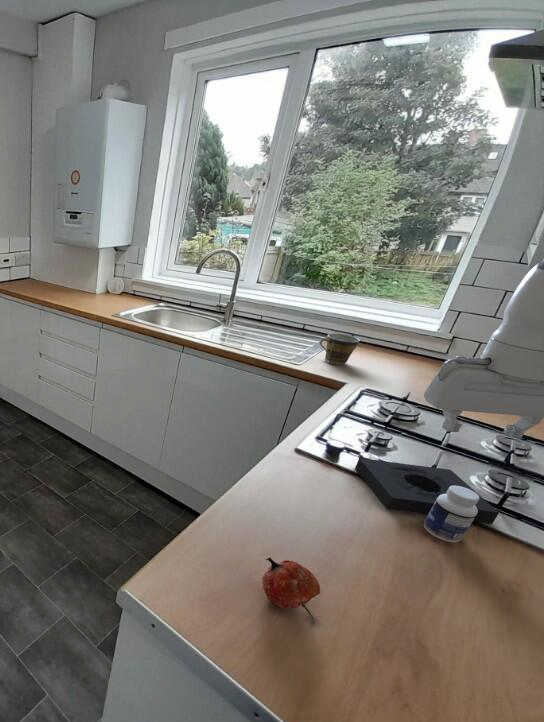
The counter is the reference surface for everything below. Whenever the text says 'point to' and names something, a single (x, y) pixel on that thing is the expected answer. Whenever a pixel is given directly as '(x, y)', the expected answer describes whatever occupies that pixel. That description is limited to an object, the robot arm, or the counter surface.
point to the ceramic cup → (339, 348)
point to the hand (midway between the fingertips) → (480, 433)
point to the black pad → (399, 491)
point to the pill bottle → (452, 514)
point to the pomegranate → (289, 584)
